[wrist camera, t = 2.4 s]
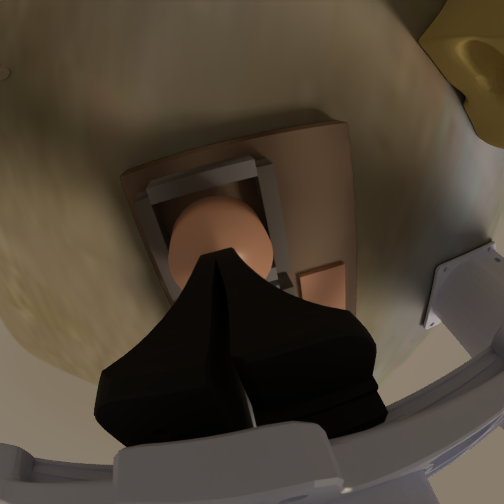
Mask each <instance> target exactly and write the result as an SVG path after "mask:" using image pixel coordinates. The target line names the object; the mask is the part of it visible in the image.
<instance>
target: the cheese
mask: <svg viewBox="0 0 504 504" xmlns="http://www.w3.org/2000/svg"><path fill="white" fill-rule="evenodd" d="M418 42H419V44H420V45H421V47H422V48H423V49H424V50H425V52H426V53H427V54H428V55H429V57H430V58H431V59H432V61H433V62H434V63H435V64H436V66H437V67H438V68H439V70H440V71H441V72H442V74H443V75H444V77H445V78H446V79H447V80H448V82H449V83H450V84H452V85H453V86H454V87H456V88H457V89H458V90H460V91H461V92H462V93H463V94H464V95H465V97H466V98H465V101H464V104H463V106H464V108H465V111H466V112H467V114H468V116H469V118H470V120H471V122H472V124H473V126H474V129H475V131H476V133H477V135H478V137H479V138H480V139H482V140H483V141H484V142H486V143H488V144H490V145H492V146H495V147H498V148H502V149H504V0H447V2H446V3H445V5H444V7H443V8H442V10H441V11H440V13H439V14H438V16H437V17H436V18H435V20H434V21H433V22H432V24H431V25H430V26H429V27H428V29H427V30H426V31H425V32H424V34H423V35H422V36H421V37H420V38H419V40H418Z"/></svg>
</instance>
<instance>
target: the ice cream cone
mask: <svg viewBox="0 0 504 504" xmlns="http://www.w3.org/2000/svg"><path fill="white" fill-rule="evenodd" d="M9 74H10V71H9V70H7V69H6V68H5V67H3V66H2V65H0V81H1V80H3V79H5V78H7V77H8V76H9Z"/></svg>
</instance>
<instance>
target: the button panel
mask: <svg viewBox="0 0 504 504" xmlns="http://www.w3.org/2000/svg"><path fill="white" fill-rule="evenodd" d="M120 180H121V183H122V186H123V189H124V192H125V194H126V197H127V200H128V203H129V206H130V208H131V211H132V214H133V216H134V219H135V222H136V224H137V227H138V229H139V232H140V234H141V237H142V239H143V242H144V244H145V247H146V249H147V252H148V254H149V257H150V259H151V261H152V264H153V266H154V268H155V271H156V273H157V275H158V278H159V280H160V282H161V284H162V287H163V289H164V291H165V293H166V295H167V298H168V300H169V302H170V304H171V306H173V305H174V303H175V302H176V300H177V298H178V297H179V295H180V293H181V292H182V289H181V288H180V287H179V286H178V285H177V284H176V282H175V281H174V279H173V277H172V275H171V272H170V269H169V264H168V255H169V248H170V242H171V236H172V230H173V227H174V224H175V222H176V219H177V218H178V216H179V215H180V214H181V212H182V211H183V210H184V209H185V208H186V207H188V206H189V205H190V204H192V203H193V202H195V201H197V200H199V199H202V198H205V197H209V196H218V195H219V196H229V197H233V198H236V199H238V200H241V201H243V202H244V203H246V204H247V205H248V206H250V207H251V208H252V209H253V210H254V211H255V213H256V214H257V216H258V217H259V219H260V221H261V223H262V225H263V227H264V229H265V230H266V232H267V234H268V236H269V239H270V241H271V244H272V248H273V262H272V266H271V269H270V272H269V274H268V276H267V278H266V279H265V280H267V281H268V282H270V283H271V284H273V285H274V286H276V287H278V288H279V289H281V290H283V291H285V292H287V293H289V294H291V295H294V296H296V297H299V298H301V299H304V300H307V301H310V302H313V303H316V304H320V305H323V306H328V307H333V308H338V309H344V310H349V311H350V312H351V313H352V314H353V315H354V316H355V317H356V287H357V246H356V215H355V196H354V182H353V169H352V158H351V149H350V139H349V131H348V123H347V122H342V121H336V120H334V121H327V122H320V123H313V124H307V125H300V126H295V127H289V128H283V129H278V130H273V131H268V132H263V133H258V134H253V135H249V136H244V137H240V138H235V139H231V140H227V141H223V142H219V143H215V144H211V145H207V146H203V147H200V148H196V149H192V150H189V151H185V152H182V153H178V154H175V155H172V156H168V157H165V158H162V159H159V160H156V161H152V162H149V163H146V164H143V165H140V166H137V167H134V168H132V169H129V170H126V171H125V172H124V173H123V174H122V175H121V176H120ZM244 390H245V389H244Z"/></svg>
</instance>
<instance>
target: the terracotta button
mask: <svg viewBox="0 0 504 504" xmlns="http://www.w3.org/2000/svg"><path fill="white" fill-rule="evenodd" d="M229 247H232V248H234V249H235V251H236V252H237V254H238V255H239V256H240V257H241V259H242V260H243V261H244V262H245V263H246V264H247V265H248V266H249V267H251V268H252V269H253V270H254V271H255V272H256V273H257V274H259V275H260V276H261V277H263V278H264V279H266V278H267V276H268V274H269V272H270V269H271V266H272V262H273V248H272V244H271V241H270V239H269V236H268V234H267V232H266V230H265V229H264V227H263V225H262V223H261V221H260V219H259V217H258V216H257V214H256V213H255V211H254V210H253V209H252V208H251V207H250V206H248V205H247V204H246V203H244V202H243V201H241V200H238V199H236V198H233V197H229V196H219V195H218V196H209V197H205V198H202V199H199V200H197V201H195V202H193V203H192V204H190V205H189V206H188V207H186V208H185V209H184V210H183V211H182V212H181V214H180V215H179V216H178V218H177V219H176V222H175V224H174V227H173V230H172V236H171V242H170V248H169V255H168V264H169V269H170V272H171V275H172V277H173V279H174V281H175V282H176V284H177V285H178V286H179V287H180V288H181V289H182V290H183V289H184V287H185V285H186V283H187V281H188V279H189V277H190V275H191V273H192V271H193V269H194V267H195V265H196V263H197V261H198V259H199V257H200V255H203V254H207V253H211V252H214V251H218V250H222V249H226V248H229Z"/></svg>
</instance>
